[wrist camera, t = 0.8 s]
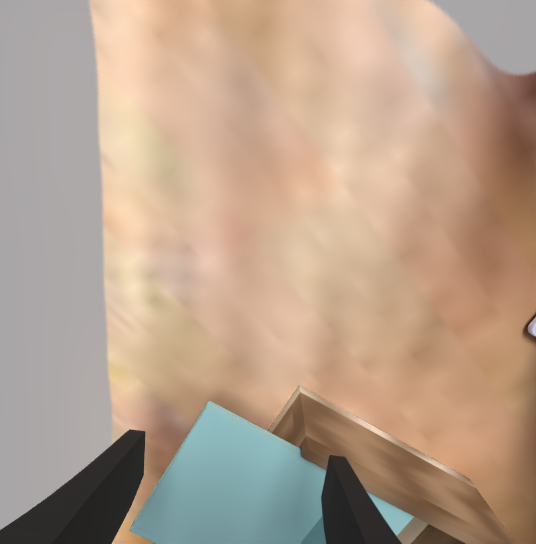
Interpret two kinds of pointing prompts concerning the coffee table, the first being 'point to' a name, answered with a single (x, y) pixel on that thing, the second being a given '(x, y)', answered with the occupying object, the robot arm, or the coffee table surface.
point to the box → (392, 473)
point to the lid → (240, 489)
